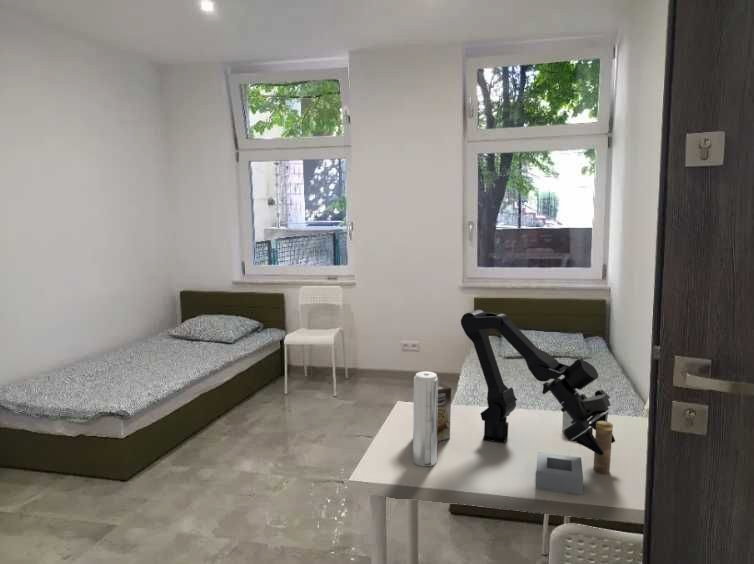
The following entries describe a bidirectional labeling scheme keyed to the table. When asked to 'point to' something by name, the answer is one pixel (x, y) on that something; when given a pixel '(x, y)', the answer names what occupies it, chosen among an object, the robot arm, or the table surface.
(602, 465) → the peg
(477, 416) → the table surface
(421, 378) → the air filter
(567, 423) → the product box
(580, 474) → the socket block
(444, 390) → the coffee box
